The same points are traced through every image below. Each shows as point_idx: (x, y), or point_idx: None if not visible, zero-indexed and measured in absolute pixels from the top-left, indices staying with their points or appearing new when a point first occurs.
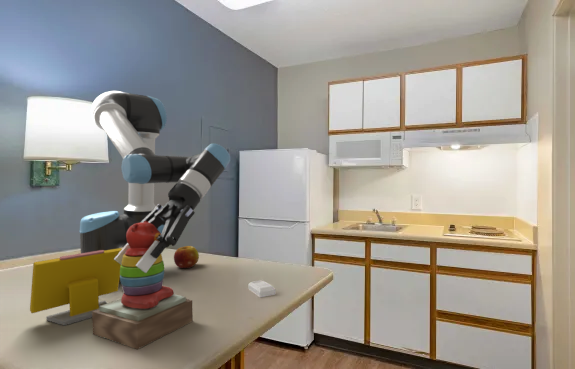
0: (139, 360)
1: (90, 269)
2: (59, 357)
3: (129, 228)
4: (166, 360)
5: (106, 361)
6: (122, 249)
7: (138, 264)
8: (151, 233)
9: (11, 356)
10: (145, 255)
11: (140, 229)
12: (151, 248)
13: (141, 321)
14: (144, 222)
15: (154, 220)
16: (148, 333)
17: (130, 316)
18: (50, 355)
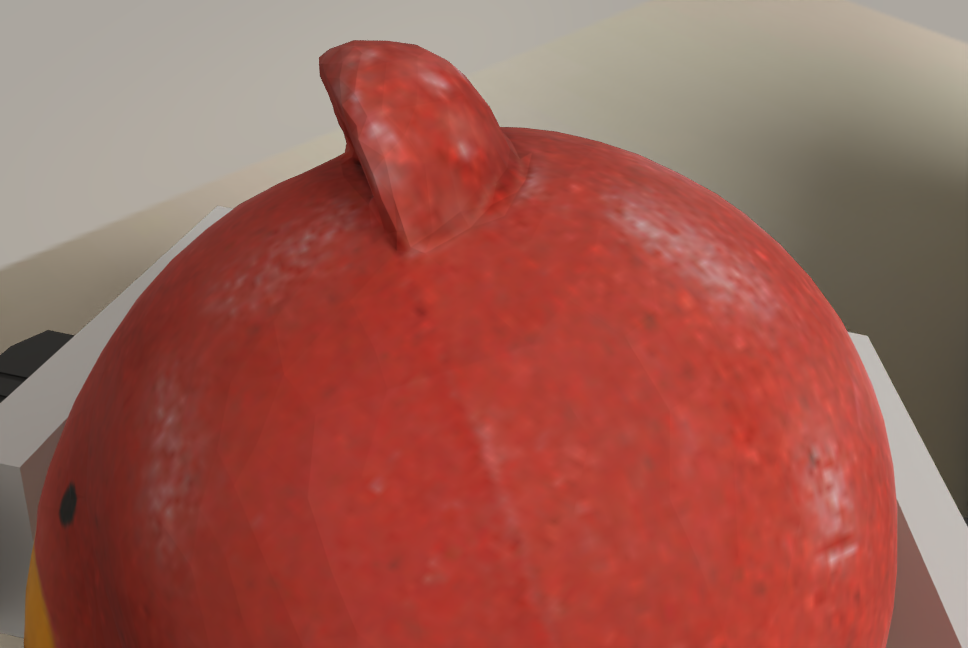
0: (174, 234)
1: None
2: (579, 93)
3: (647, 167)
4: (39, 290)
5: (324, 162)
6: (900, 433)
7: (208, 216)
8: (68, 456)
9: (802, 8)
10: (140, 277)
11: (229, 218)
12: (66, 355)
13: None
14: (468, 593)
15: None
16: None
17: None
18: (641, 86)
